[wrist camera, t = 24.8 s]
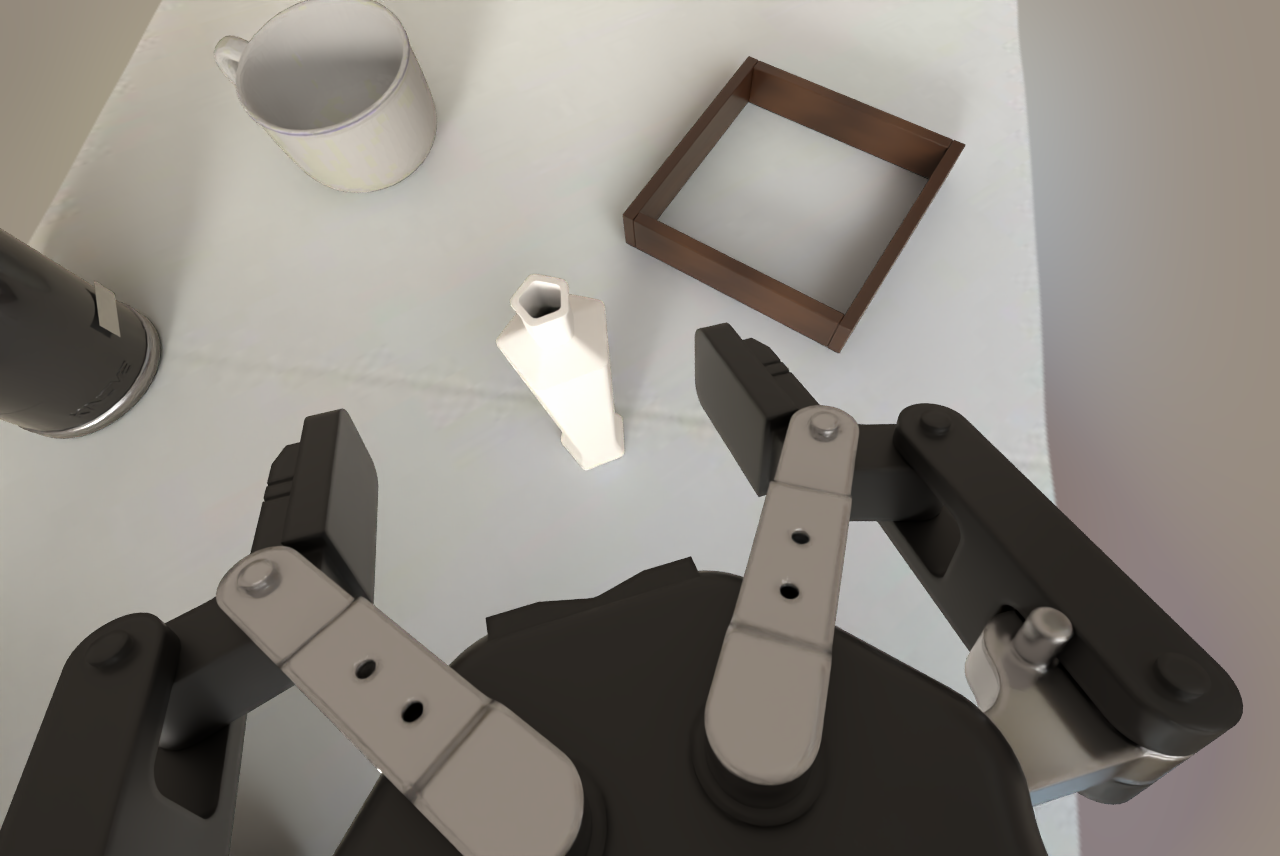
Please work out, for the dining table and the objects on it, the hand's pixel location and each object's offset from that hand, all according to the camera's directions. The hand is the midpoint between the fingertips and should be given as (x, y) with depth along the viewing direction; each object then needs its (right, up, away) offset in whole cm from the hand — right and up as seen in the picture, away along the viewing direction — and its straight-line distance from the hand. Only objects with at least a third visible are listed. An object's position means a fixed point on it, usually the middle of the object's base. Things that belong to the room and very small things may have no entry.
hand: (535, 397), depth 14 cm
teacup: (-18, +20, +30) cm, 40 cm away
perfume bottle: (0, -1, +22) cm, 22 cm away
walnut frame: (+12, +14, +26) cm, 32 cm away
